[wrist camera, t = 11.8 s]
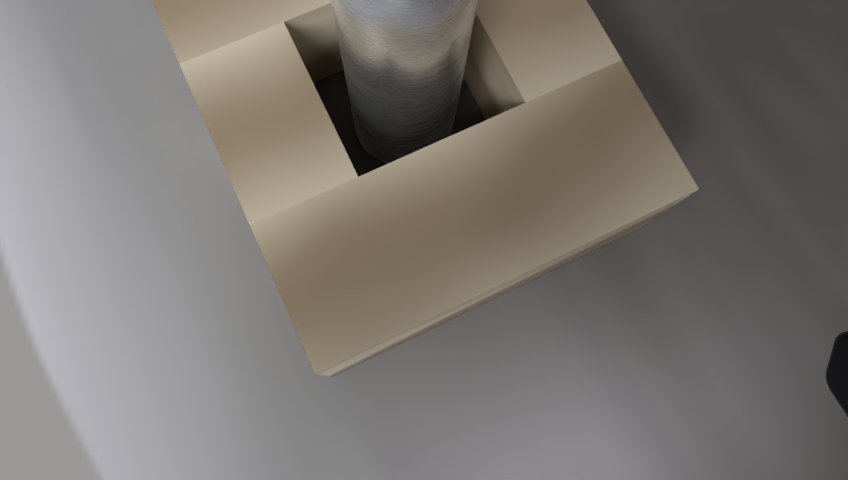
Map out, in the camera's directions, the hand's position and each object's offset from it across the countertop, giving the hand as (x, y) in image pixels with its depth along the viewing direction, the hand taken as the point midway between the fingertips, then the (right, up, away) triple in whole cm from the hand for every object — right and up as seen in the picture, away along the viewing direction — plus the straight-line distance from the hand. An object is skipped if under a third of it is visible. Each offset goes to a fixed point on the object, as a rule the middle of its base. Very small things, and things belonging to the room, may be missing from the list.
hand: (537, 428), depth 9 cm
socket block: (-2, +6, +10) cm, 12 cm away
